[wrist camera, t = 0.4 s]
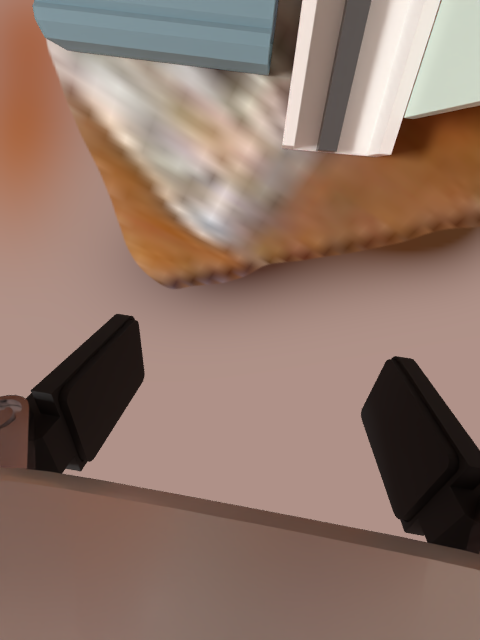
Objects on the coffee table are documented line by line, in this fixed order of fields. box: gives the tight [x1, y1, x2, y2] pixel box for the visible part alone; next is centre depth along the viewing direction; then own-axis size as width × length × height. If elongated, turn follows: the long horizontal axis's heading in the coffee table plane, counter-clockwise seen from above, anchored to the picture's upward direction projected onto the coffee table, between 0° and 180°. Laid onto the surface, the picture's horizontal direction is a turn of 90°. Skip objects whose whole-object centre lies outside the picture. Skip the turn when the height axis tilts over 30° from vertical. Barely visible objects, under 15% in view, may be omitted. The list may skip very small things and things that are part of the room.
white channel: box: [282, 0, 441, 157], centre depth 24 cm, size 20×11×5 cm, turn 175°
